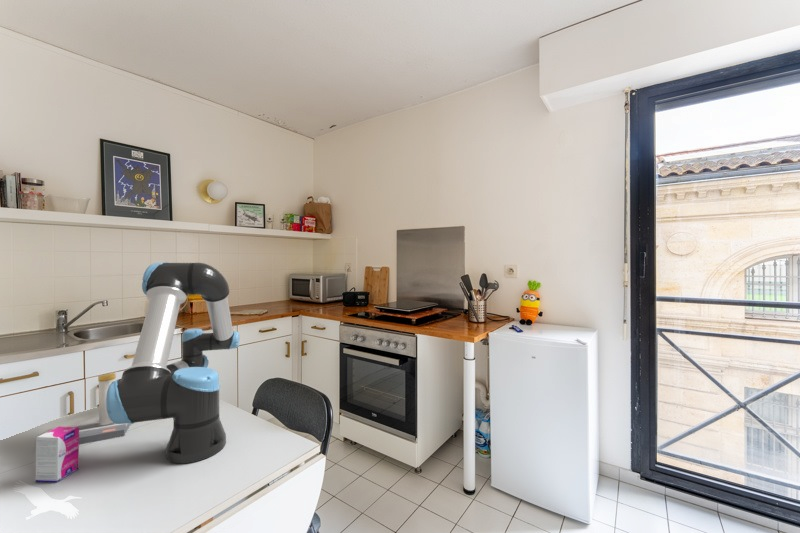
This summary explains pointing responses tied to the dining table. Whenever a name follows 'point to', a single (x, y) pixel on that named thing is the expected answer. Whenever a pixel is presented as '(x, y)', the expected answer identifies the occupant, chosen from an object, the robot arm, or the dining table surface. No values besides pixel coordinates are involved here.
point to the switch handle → (104, 398)
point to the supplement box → (57, 454)
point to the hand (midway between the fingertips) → (118, 393)
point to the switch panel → (99, 431)
